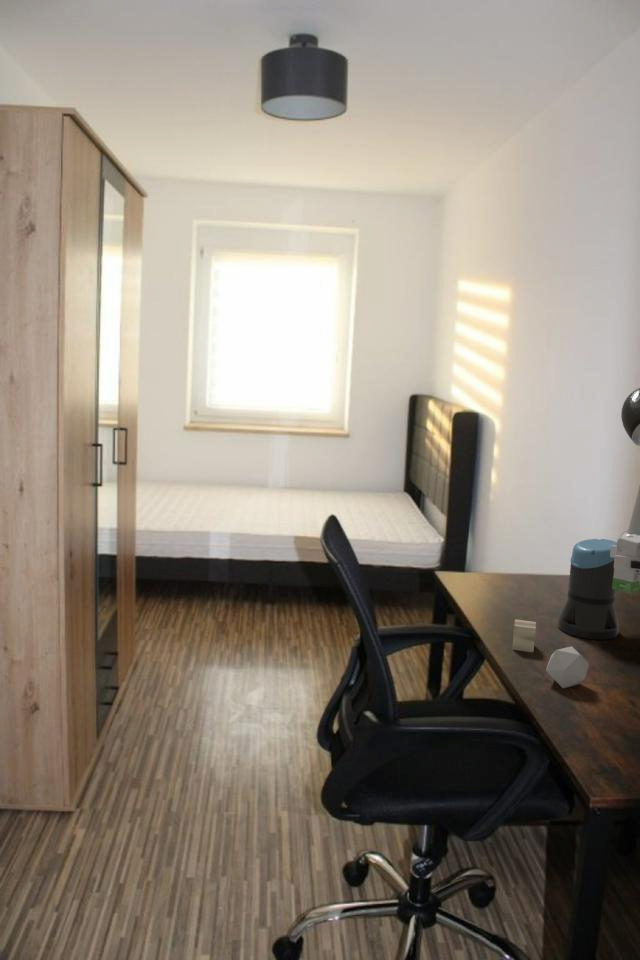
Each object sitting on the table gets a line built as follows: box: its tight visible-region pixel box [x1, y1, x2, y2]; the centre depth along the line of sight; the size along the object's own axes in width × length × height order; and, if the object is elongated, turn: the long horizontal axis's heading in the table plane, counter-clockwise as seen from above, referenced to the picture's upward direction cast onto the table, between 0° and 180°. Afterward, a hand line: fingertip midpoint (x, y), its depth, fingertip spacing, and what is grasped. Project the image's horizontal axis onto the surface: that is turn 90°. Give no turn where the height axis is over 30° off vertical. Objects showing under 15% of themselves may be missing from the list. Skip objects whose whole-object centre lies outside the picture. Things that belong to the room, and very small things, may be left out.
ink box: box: [612, 534, 640, 595], centre depth 187 cm, size 9×5×12 cm, turn 134°
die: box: [545, 646, 590, 689], centre depth 180 cm, size 8×9×10 cm
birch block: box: [511, 619, 537, 653], centre depth 201 cm, size 5×5×6 cm
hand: (612, 556), depth 188 cm, fingers closed on ink box, 9 cm apart
